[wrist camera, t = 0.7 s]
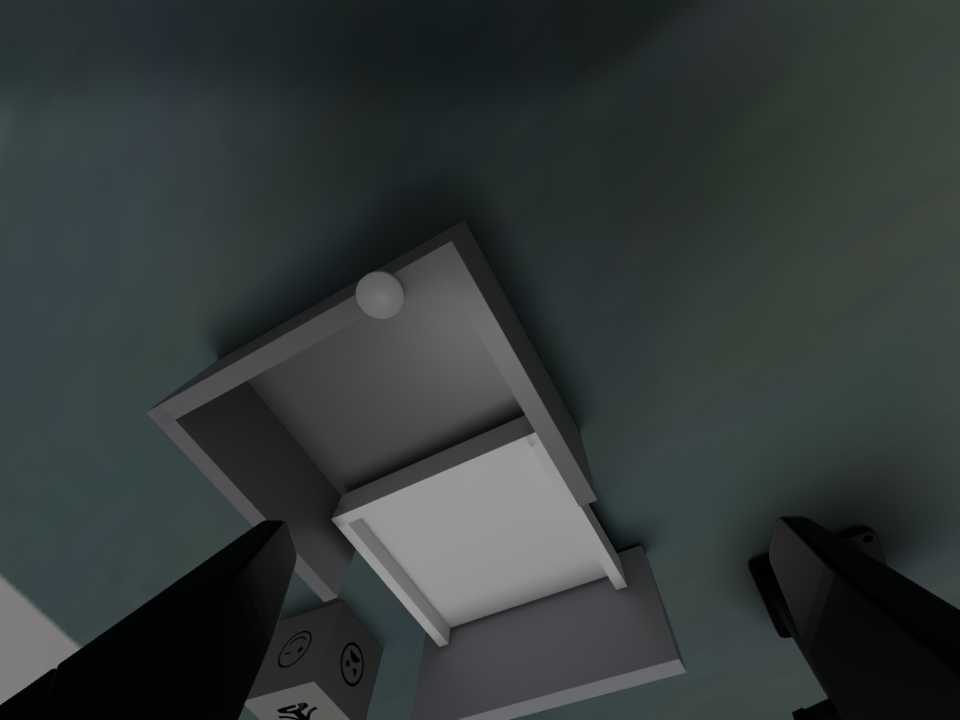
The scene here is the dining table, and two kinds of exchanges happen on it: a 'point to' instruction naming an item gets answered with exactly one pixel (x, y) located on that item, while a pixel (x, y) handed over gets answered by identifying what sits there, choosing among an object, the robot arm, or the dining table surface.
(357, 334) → the housing
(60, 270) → the dining table surface
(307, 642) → the dice cube
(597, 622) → the tray
